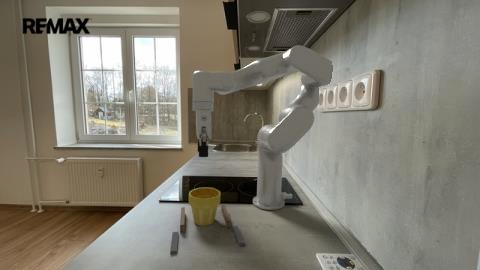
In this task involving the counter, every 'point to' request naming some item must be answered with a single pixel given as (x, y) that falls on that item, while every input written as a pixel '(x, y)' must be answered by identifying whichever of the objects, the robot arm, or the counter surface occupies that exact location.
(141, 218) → the counter surface
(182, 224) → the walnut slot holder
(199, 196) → the plant pot
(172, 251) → the rubber strips
